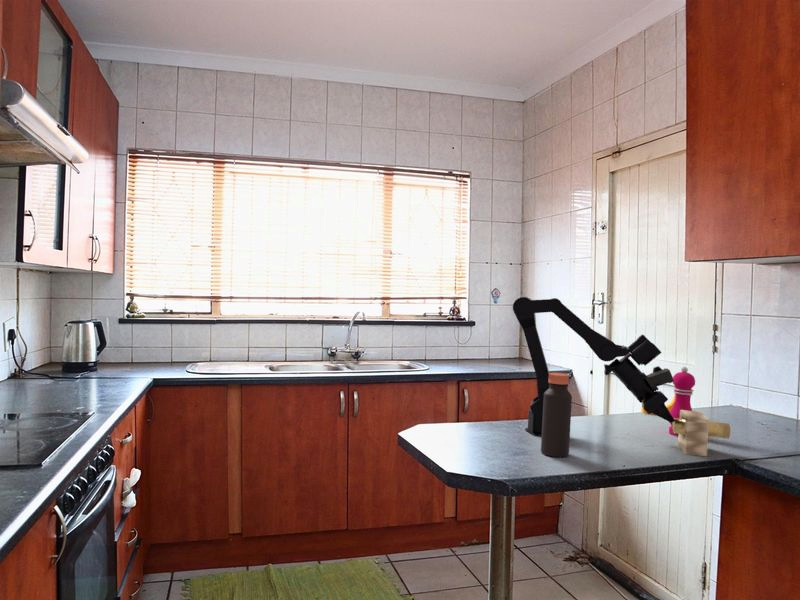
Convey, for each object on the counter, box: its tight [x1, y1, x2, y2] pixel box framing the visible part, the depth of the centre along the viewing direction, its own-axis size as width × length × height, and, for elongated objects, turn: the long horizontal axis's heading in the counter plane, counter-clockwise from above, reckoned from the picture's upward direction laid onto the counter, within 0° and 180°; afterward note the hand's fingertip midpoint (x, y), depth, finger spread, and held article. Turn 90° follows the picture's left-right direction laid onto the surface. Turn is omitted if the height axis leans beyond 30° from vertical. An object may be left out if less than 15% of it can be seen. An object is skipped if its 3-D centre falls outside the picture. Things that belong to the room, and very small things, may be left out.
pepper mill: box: [668, 366, 696, 437], centre depth 169 cm, size 7×7×20 cm
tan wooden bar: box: [673, 418, 731, 440], centre depth 152 cm, size 13×4×4 cm, turn 74°
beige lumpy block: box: [677, 410, 710, 457], centre depth 153 cm, size 5×10×10 cm, turn 164°
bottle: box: [540, 372, 573, 458], centre depth 143 cm, size 7×7×20 cm
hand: (673, 421), depth 154 cm, fingers closed
